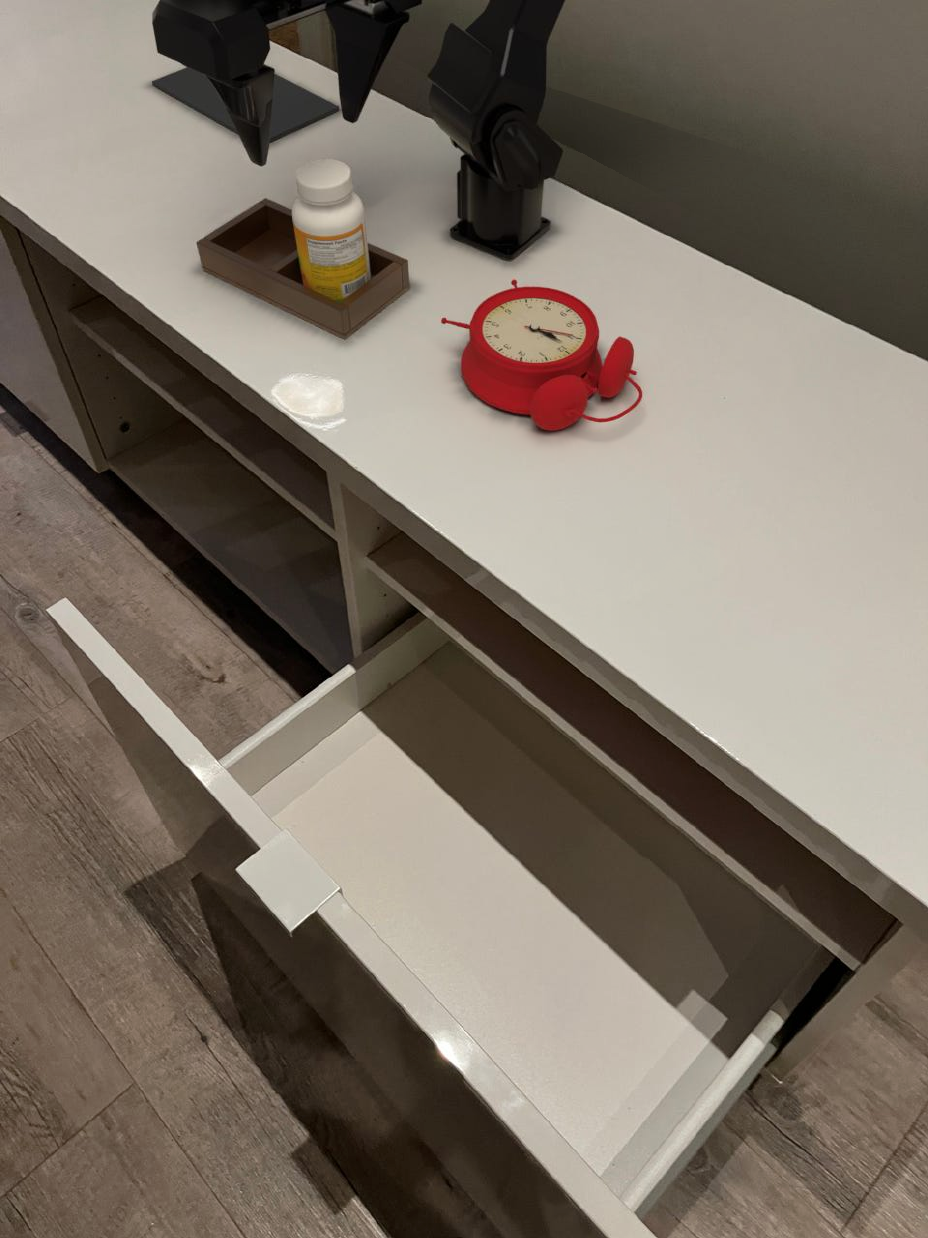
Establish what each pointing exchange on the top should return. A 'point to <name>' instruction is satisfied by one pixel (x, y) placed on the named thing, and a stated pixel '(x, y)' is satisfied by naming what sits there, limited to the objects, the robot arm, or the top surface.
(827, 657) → the top surface
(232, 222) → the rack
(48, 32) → the top surface
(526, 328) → the alarm clock
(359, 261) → the supplement bottle
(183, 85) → the mat
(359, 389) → the top surface
